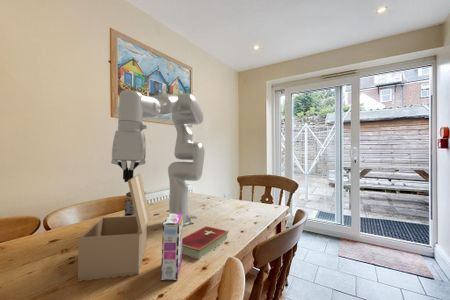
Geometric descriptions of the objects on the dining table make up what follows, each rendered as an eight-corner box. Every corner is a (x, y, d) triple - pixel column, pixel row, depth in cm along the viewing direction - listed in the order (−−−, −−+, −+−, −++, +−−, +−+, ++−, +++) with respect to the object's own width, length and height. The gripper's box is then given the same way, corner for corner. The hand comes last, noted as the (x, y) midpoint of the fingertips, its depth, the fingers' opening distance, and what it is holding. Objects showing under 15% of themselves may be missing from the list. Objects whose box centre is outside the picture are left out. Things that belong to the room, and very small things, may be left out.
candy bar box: (178, 281, 61) (179, 223, 61) (160, 281, 61) (161, 223, 61) (182, 261, 72) (183, 212, 73) (167, 261, 72) (168, 212, 72)
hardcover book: (172, 253, 79) (172, 241, 79) (205, 234, 97) (205, 225, 97) (199, 261, 73) (199, 249, 73) (228, 240, 92) (228, 230, 92)
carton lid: (147, 214, 84) (149, 214, 84) (139, 234, 64) (142, 233, 65) (138, 173, 83) (140, 173, 83) (127, 180, 64) (130, 180, 64)
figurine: (149, 216, 122) (150, 189, 122) (130, 221, 113) (130, 192, 113) (140, 213, 128) (141, 187, 128) (121, 217, 118) (122, 190, 118)
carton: (146, 245, 84) (146, 214, 84) (138, 274, 64) (139, 234, 64) (100, 249, 80) (101, 217, 80) (77, 281, 60) (78, 238, 61)
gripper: (154, 130, 79) (152, 180, 78) (109, 128, 75) (107, 180, 75) (152, 127, 71) (149, 183, 71) (102, 124, 68) (99, 183, 67)
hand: (128, 181), depth 73 cm, fingers closed
